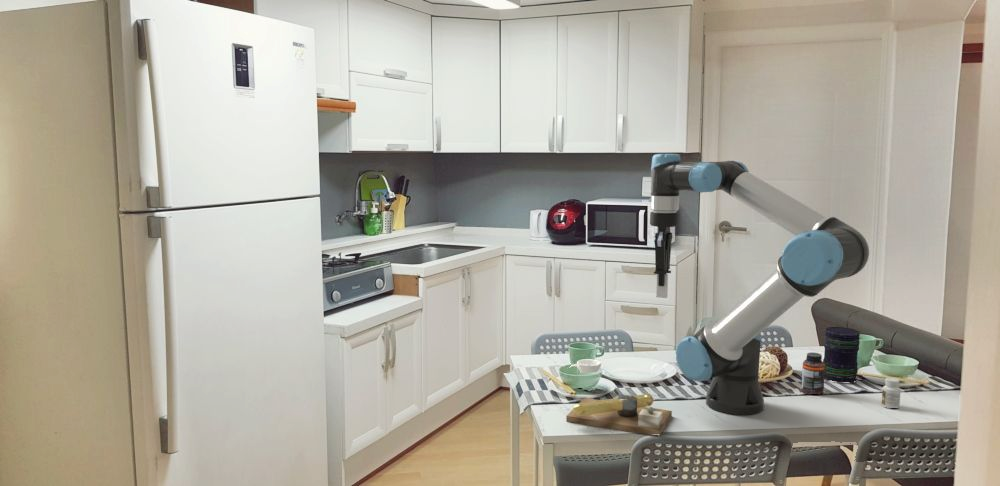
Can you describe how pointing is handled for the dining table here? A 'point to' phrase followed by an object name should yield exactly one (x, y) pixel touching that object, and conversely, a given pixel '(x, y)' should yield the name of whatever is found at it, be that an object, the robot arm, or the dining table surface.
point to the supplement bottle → (813, 374)
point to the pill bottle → (891, 393)
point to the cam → (614, 405)
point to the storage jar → (841, 354)
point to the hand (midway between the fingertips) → (661, 297)
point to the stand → (626, 420)
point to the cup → (584, 363)
